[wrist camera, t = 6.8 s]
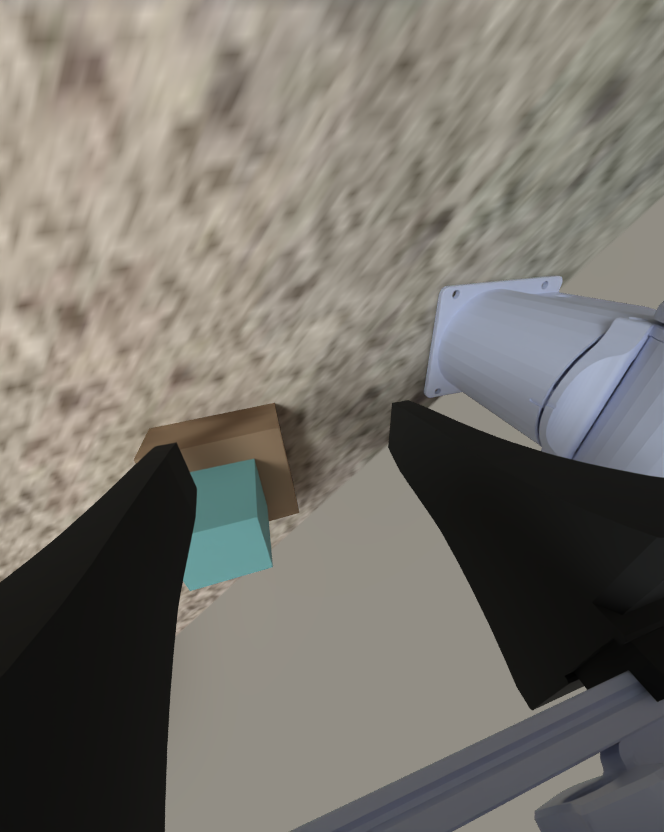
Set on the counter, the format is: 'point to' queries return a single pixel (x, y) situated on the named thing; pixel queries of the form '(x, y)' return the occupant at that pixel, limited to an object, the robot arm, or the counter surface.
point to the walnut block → (235, 449)
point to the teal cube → (228, 525)
